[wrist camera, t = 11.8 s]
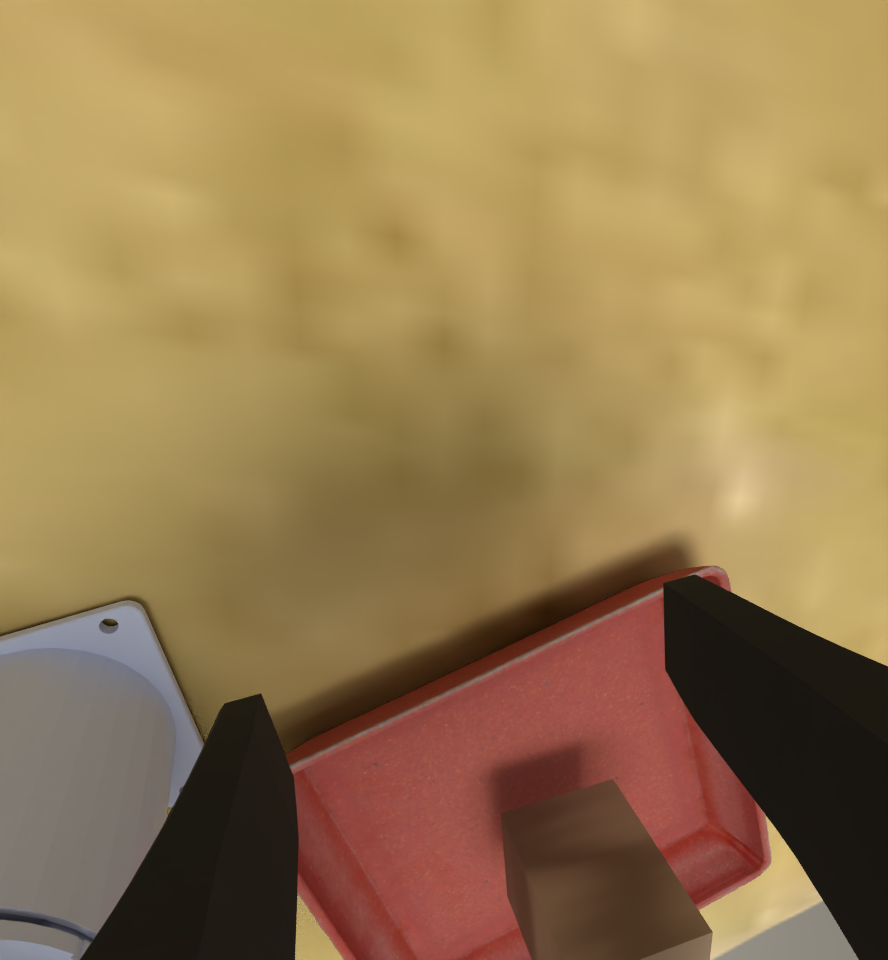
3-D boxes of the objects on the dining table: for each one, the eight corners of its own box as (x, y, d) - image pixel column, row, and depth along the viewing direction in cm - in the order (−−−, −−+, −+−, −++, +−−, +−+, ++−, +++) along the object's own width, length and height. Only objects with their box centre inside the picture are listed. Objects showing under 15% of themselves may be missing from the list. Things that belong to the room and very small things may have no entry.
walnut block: (507, 896, 26) (575, 1073, 21) (500, 813, 24) (573, 984, 19) (611, 860, 27) (702, 1021, 22) (613, 778, 25) (712, 932, 20)
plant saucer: (675, 520, 26) (732, 561, 23) (731, 814, 34) (778, 873, 31) (229, 724, 24) (228, 797, 21) (400, 987, 32) (416, 1067, 29)
